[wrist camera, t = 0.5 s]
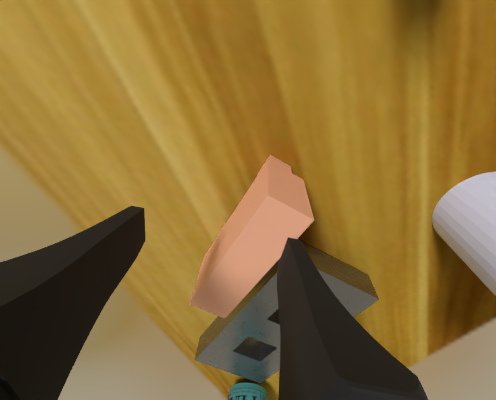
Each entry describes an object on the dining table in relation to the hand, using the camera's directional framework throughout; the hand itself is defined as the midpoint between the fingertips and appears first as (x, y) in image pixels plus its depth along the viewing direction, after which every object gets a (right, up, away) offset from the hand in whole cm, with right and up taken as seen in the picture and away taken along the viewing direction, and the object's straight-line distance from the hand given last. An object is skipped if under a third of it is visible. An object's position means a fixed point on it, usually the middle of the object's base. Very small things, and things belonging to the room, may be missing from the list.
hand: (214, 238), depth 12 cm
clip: (+2, +2, +10) cm, 11 cm away
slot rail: (+5, -12, +18) cm, 22 cm away
